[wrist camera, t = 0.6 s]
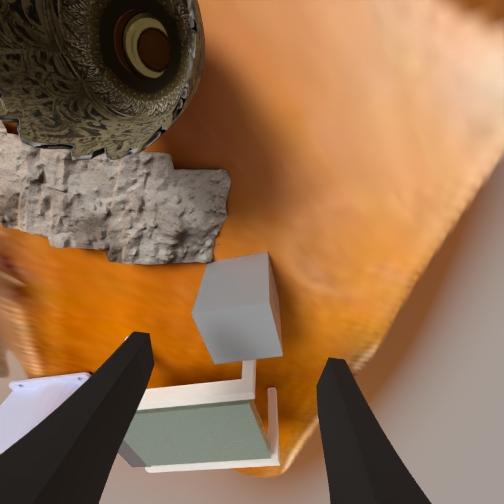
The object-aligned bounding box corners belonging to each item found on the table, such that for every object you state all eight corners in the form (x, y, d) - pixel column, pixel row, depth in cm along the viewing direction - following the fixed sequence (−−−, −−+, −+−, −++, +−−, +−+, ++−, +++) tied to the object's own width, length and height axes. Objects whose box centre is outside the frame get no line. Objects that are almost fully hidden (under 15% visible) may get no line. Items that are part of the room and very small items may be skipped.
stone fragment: (231, 253, 21) (234, 108, 16) (227, 275, 19) (230, 113, 14) (-99, 232, 21) (-207, 77, 16) (-146, 252, 18) (-293, 77, 13)
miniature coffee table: (169, 402, 30) (148, 472, 25) (126, 336, 25) (88, 408, 19) (276, 391, 29) (279, 465, 23) (255, 319, 23) (252, 391, 18)
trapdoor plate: (139, 449, 26) (133, 468, 24) (94, 397, 21) (83, 417, 20) (271, 439, 24) (271, 459, 23) (249, 381, 20) (248, 402, 18)
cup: (46, -8, 13) (-201, -116, 6) (185, -93, 11) (67, -363, 4) (133, 148, 16) (41, 193, 10) (248, 100, 15) (236, 113, 8)
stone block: (224, 307, 23) (214, 364, 18) (207, 261, 21) (191, 314, 16) (278, 298, 22) (283, 356, 17) (267, 251, 20) (269, 302, 15)
